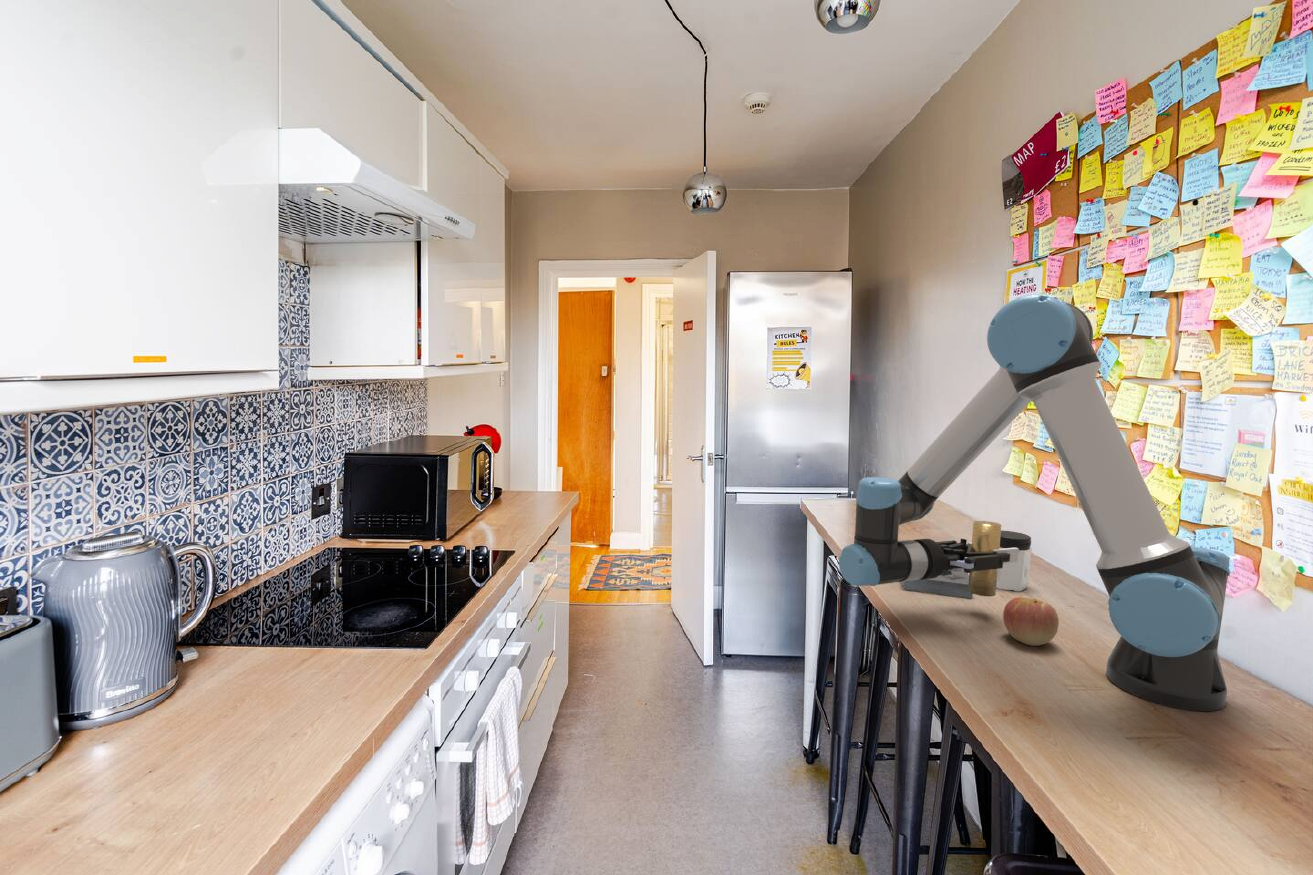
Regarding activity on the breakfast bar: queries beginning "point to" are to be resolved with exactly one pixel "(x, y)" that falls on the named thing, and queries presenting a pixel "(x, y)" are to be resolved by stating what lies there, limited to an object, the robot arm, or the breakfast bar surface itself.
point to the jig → (943, 584)
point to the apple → (1030, 621)
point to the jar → (1015, 572)
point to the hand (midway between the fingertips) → (1004, 551)
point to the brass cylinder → (984, 541)
